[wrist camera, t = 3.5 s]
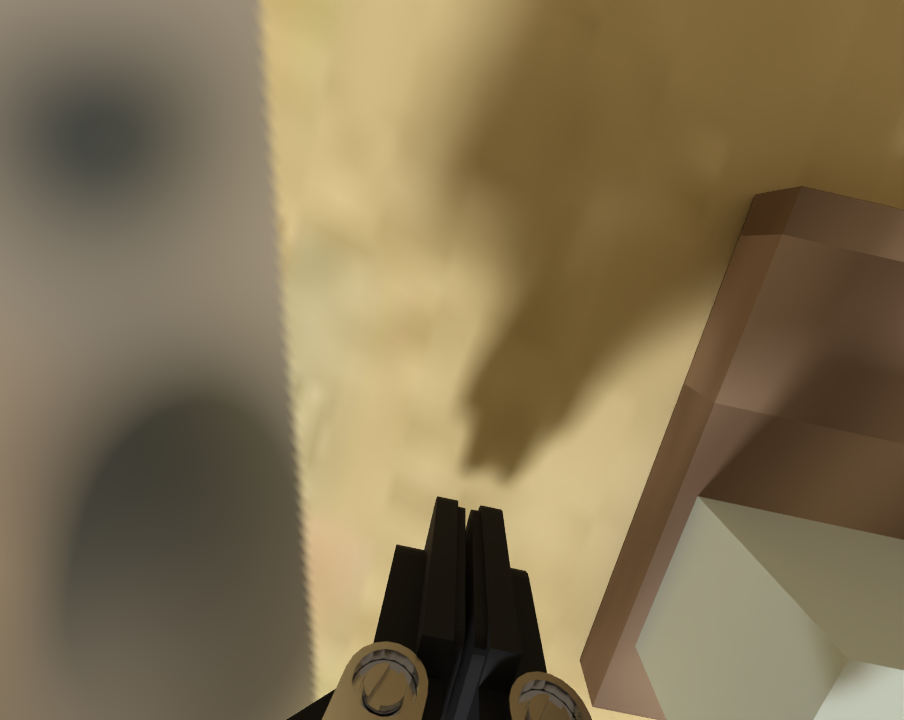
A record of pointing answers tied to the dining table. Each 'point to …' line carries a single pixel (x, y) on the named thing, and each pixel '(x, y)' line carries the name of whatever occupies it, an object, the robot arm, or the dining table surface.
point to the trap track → (774, 407)
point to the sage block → (777, 620)
